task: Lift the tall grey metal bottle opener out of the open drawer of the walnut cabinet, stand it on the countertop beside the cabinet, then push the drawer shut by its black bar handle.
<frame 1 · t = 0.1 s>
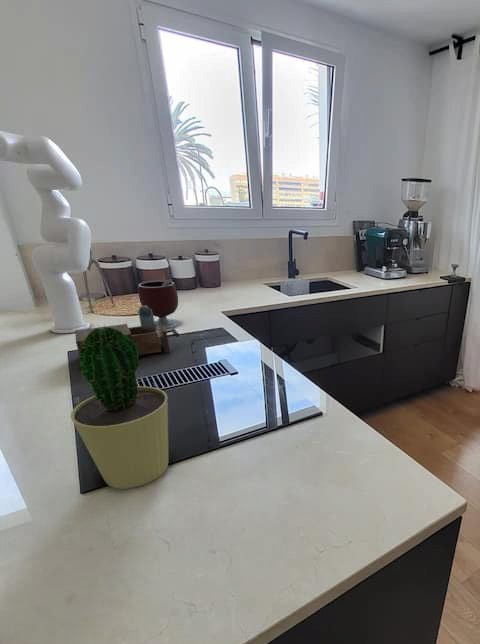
potted cactus: (137, 470, 78), on the counter
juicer: (97, 308, 183), on the counter
mate gourd: (165, 325, 162), on the counter
bottle opener: (152, 345, 135), point 2 cm above the counter, touching drawer
cabinet: (109, 358, 129), on the counter
drawer: (150, 338, 134), point 5 cm above the counter, slide at 9.0 cm, touching bottle opener
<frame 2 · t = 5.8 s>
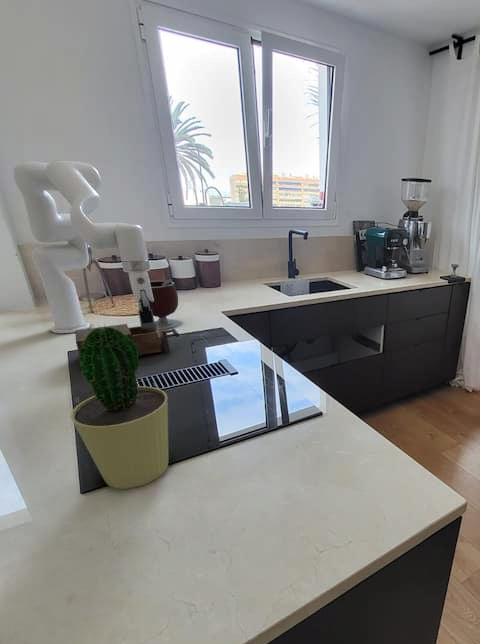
hand: (147, 321, 131), 11 cm above the counter, tool pointing down, fingers closed on bottle opener
bottle opener: (152, 345, 135), point 2 cm above the counter, touching gripper
drawer: (150, 338, 134), point 5 cm above the counter, slide at 9.0 cm
everything else where it was.
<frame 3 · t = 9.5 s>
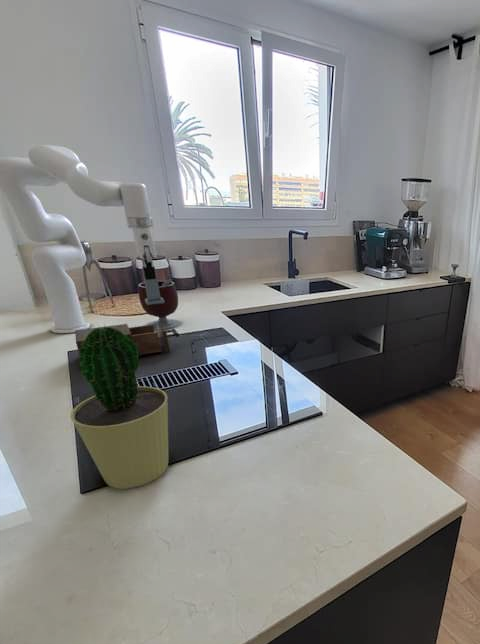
hand: (150, 278, 138), 23 cm above the counter, tool pointing down, fingers closed on bottle opener
bottle opener: (155, 302, 142), point 14 cm above the counter, touching gripper
everything else where it was.
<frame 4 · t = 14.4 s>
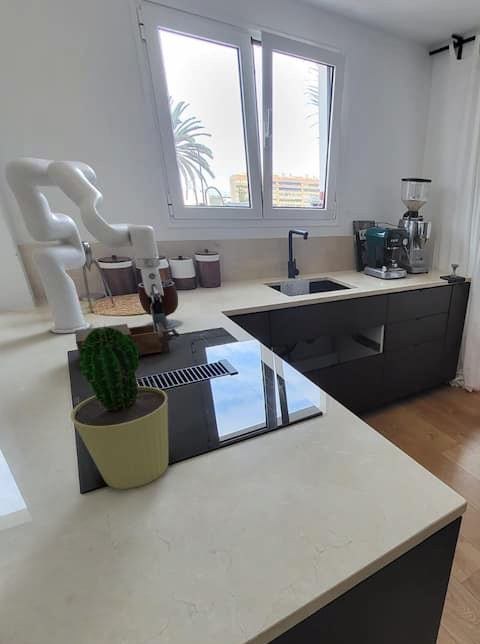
hand: (156, 310, 144), 11 cm above the counter, tool pointing down, fingers open, 9 cm apart
bottle opener: (162, 338, 148), on the counter
everything else where it was.
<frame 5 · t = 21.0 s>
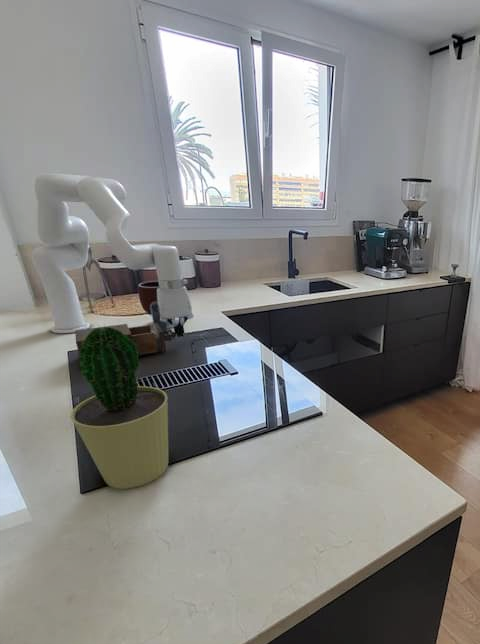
hand: (180, 335, 139), 4 cm above the counter, tool pointing down, fingers closed
drawer: (146, 339, 133), point 5 cm above the counter, slide at 7.9 cm, touching gripper
everything else where it was.
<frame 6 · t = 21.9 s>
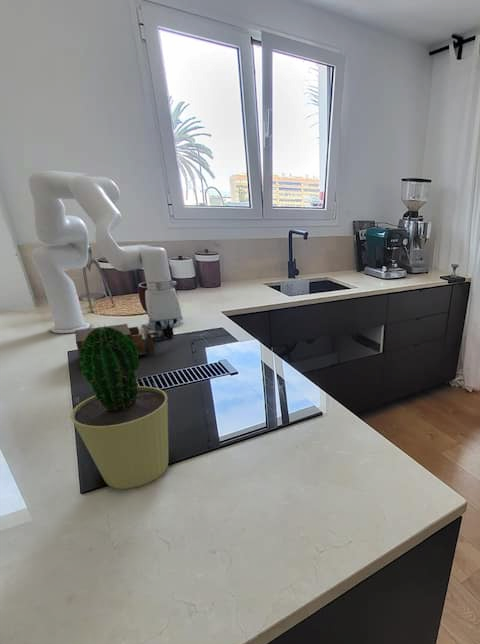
hand: (169, 338, 137), 4 cm above the counter, tool pointing down, fingers closed
drawer: (134, 341, 131), point 5 cm above the counter, slide at 4.3 cm, touching gripper
everything else where it was.
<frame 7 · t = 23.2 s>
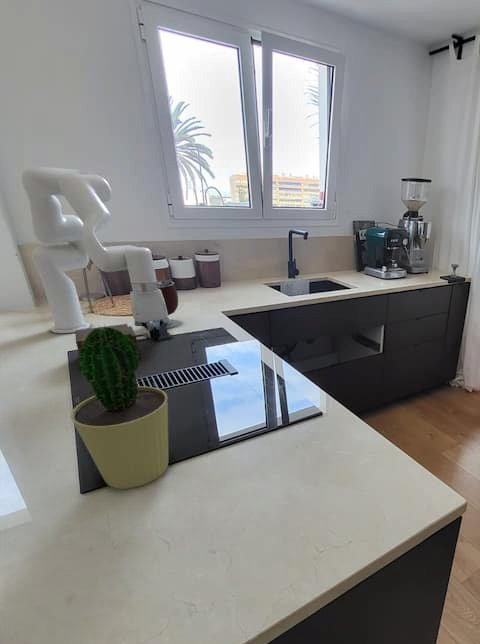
hand: (155, 340, 135), 4 cm above the counter, tool pointing down, fingers closed
drawer: (119, 343, 129), point 5 cm above the counter, slide at 0.0 cm, touching cabinet, gripper
everything else where it was.
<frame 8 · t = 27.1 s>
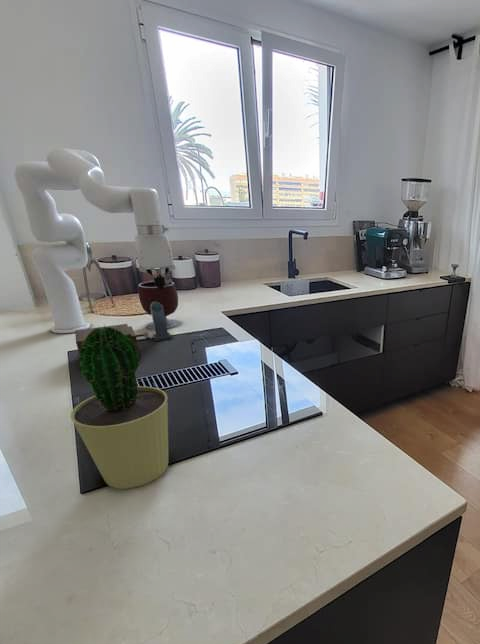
hand: (160, 288, 131), 21 cm above the counter, tool pointing down, fingers closed
drawer: (119, 343, 129), point 5 cm above the counter, slide at 0.0 cm, touching cabinet
everything else where it was.
at the end: bottle opener inside the target area (0.1 cm from its centre), on the counter; bottle opener tilted 0°; drawer slide at 0.0 cm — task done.
